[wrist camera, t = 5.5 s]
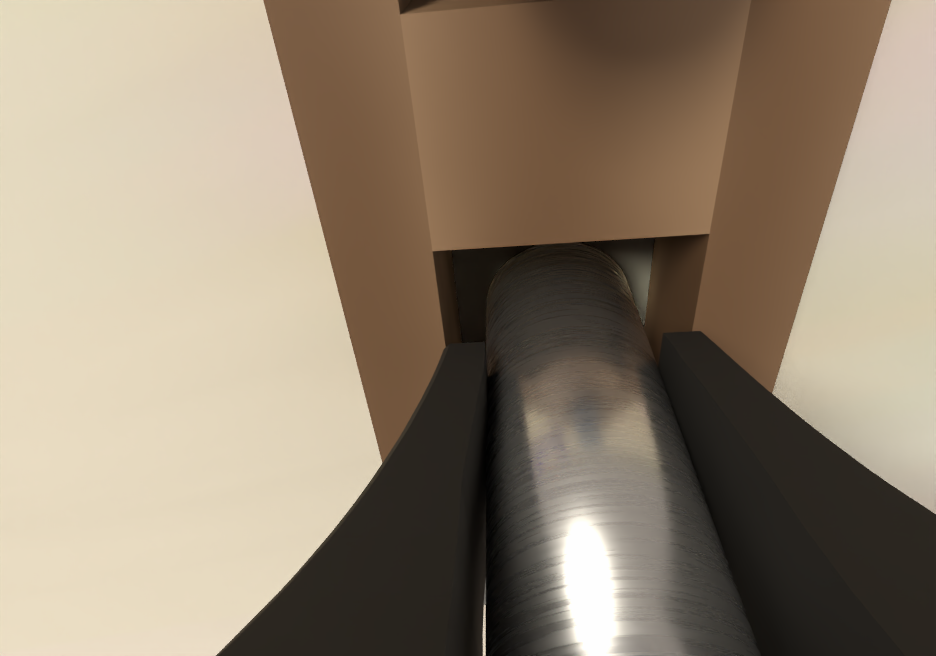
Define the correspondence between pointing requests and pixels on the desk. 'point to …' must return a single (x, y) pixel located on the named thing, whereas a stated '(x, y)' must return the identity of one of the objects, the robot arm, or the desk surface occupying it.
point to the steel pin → (592, 478)
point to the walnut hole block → (571, 156)
